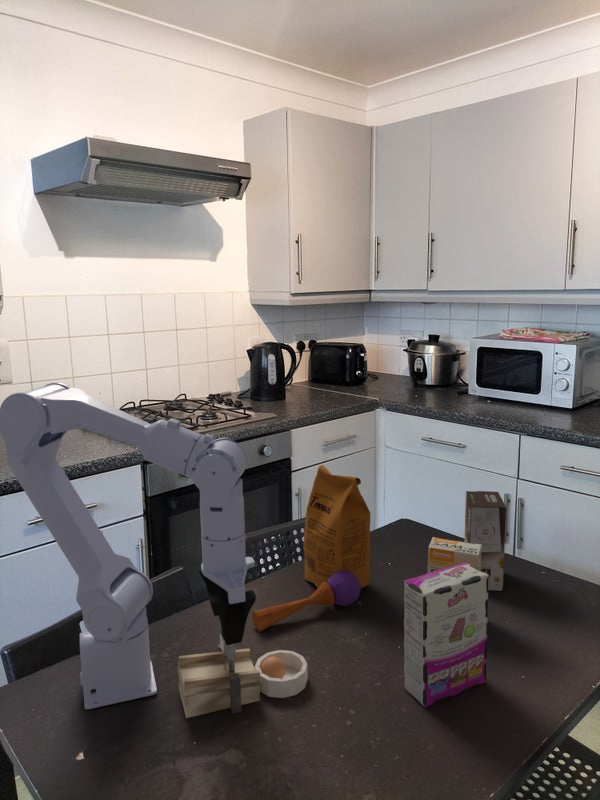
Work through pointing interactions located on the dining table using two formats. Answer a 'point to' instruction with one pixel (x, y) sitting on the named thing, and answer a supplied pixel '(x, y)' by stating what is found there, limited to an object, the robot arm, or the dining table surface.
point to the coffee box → (487, 532)
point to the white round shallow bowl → (292, 678)
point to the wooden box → (217, 682)
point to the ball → (273, 667)
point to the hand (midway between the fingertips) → (227, 627)
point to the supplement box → (452, 554)
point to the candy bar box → (445, 633)
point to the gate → (228, 654)
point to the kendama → (313, 599)
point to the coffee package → (336, 529)
